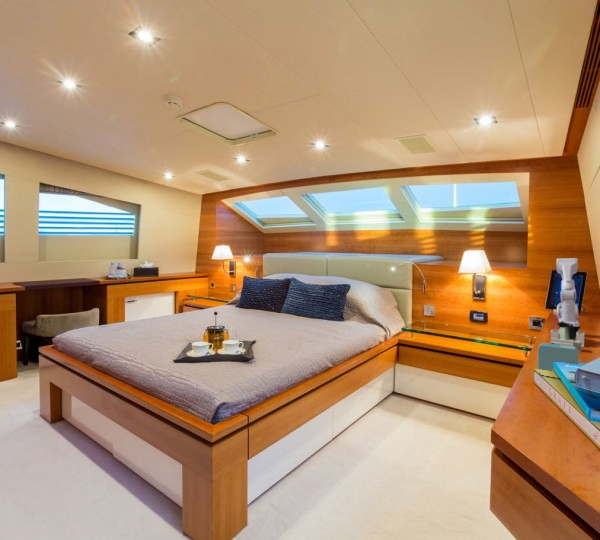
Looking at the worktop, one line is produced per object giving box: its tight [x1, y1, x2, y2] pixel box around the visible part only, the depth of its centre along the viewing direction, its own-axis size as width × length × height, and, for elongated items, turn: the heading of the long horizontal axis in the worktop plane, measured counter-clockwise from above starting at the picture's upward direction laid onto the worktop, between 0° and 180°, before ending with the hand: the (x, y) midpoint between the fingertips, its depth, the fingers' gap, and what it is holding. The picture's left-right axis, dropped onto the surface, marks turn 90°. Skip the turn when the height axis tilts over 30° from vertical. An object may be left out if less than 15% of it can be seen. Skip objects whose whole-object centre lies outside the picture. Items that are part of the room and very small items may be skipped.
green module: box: [559, 327, 576, 341], centre depth 190 cm, size 4×6×7 cm
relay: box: [573, 341, 583, 352], centre depth 170 cm, size 5×3×4 cm, turn 140°
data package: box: [537, 342, 580, 371], centre depth 133 cm, size 12×4×12 cm, turn 48°
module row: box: [550, 329, 585, 348], centre depth 183 cm, size 10×14×6 cm
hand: (568, 337), depth 190 cm, fingers open, 7 cm apart
